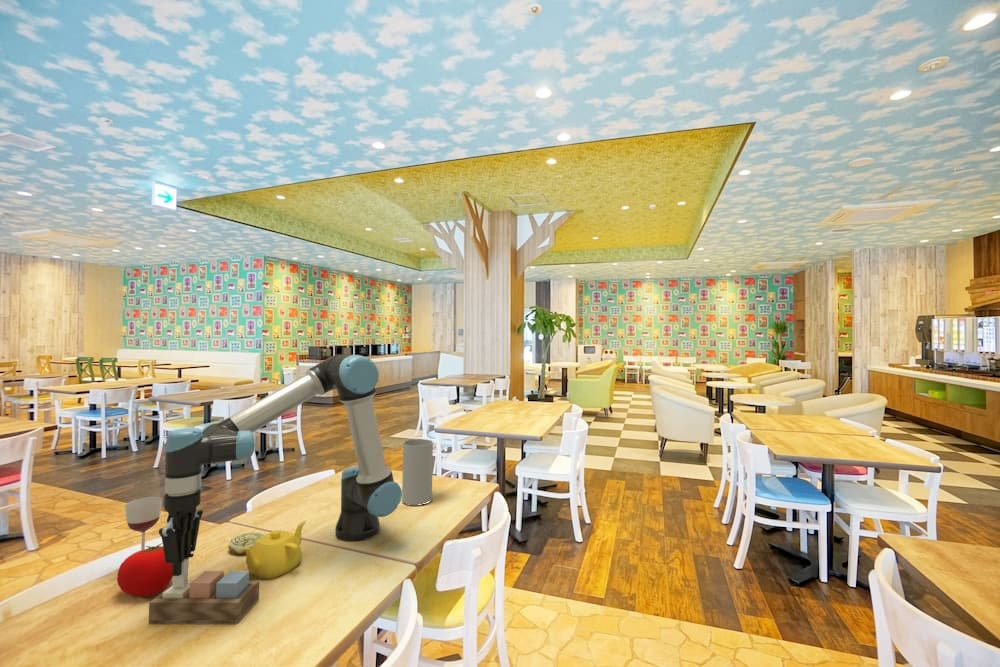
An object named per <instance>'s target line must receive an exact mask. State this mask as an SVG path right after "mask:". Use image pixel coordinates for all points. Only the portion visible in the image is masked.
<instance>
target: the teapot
mask: <svg viewBox="0 0 1000 667" xmlns="http://www.w3.org/2000/svg"><path fill="white" fill-rule="evenodd" d="M306 522H307V520H303V521H301V522H300V523H299V524H298V525H297V526H296V529H295V532H294V533H293V532H290V531H286V530H282V529H281V530H278V529H276V530H273V531H270V532H269V533H266V534H263V535H264V536H262V537H260V538H258V539H257V540H256V541H255V542H254V544H253V547H252V549H251V548H249V547H246V548H242V549H241V550H244V551H245V552H246V555H245V558H246V559H245V562H246V569H247V570H248V571H249V574H250V575H252V576H253V577H257V578H260V579H263V580H265V579H266V580H270V579H274V578H277V577H280V576H283V575H285V574H286V573H288V572H290V571H292V570H293V569H295V568H296V567H297V566H298V565H299V563H300V562H301V559H302V548H301V546H300V545H301V542H302V531H303V530H302V529H303V526H304V525H305V524H306Z"/></svg>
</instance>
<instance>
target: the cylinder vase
mask: <svg viewBox="0 0 1000 667" xmlns="http://www.w3.org/2000/svg"><path fill="white" fill-rule="evenodd" d="M433 449H434V441H433V440H431V439H425V438H424V439H423V438H418V439H417V438H416V439H408V440H405V441H403V442H402V480H401V481H402V483H401V484H402V488H401V490H402V498H401V501H402V503H403V504H404V503H405V504H404V505H406V504H409V505H408V506H410V505H418V504H423V503H426V502H428V501H430V500H431V499H432V500H433V459H434V456H433V454H434V452H433V451H434V450H433ZM432 500H431V501H432Z"/></svg>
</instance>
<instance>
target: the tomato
mask: <svg viewBox="0 0 1000 667" xmlns="http://www.w3.org/2000/svg"><path fill="white" fill-rule="evenodd" d="M145 547H147V548H145V549H144V550H141V549H140V550H139V551H136V552H134V553H132V554H130V555H129V556H127V557H126V558H125V559H124V560H123V561H122V562H121V564H120V566H119V567H118V572H117V578H116V580H117V585H118V587H119V588H120V591H122V592H123V593H125V594H126V595H129V596H133V597H142V598H143V597H149V596H150V597H151V596H154V595H157V594H159V593H162V592H163V591H165V590H166V589H167V588H168V587H169V585H170V583H171V581H173V563H166V561H165V555H164V549H163V543H162V542H161V543H160V544H157V545H156V546H154V545H153V546H151V545H150V546H149V545H145Z"/></svg>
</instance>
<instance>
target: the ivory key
mask: <svg viewBox="0 0 1000 667" xmlns="http://www.w3.org/2000/svg"><path fill="white" fill-rule="evenodd" d="M191 582H192V581H188V585H186V586H185V587H184V588H173V584H172V586H171V585H170V586H171V587H170V586H169V587H170V588H169V587H168V588H169V589H167V588H166V589H167V590H166V589H165V590H166V591H165V590H164V591H165V592H164V591H162V592H163V593H162V592H161V593H162V599H183V598H184V597H185V596H186V595H188V594H189V589H190V583H191Z"/></svg>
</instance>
